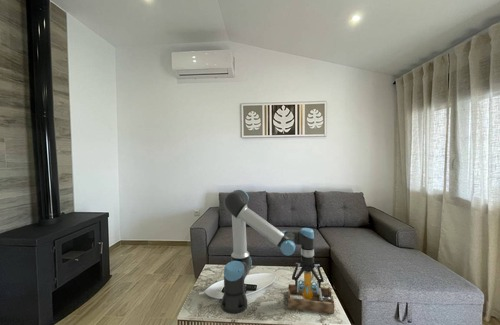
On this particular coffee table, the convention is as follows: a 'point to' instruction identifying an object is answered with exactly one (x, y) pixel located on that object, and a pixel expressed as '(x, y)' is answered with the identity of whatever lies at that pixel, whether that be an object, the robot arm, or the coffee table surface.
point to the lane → (311, 304)
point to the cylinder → (307, 286)
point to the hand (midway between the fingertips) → (307, 292)
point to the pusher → (322, 297)
